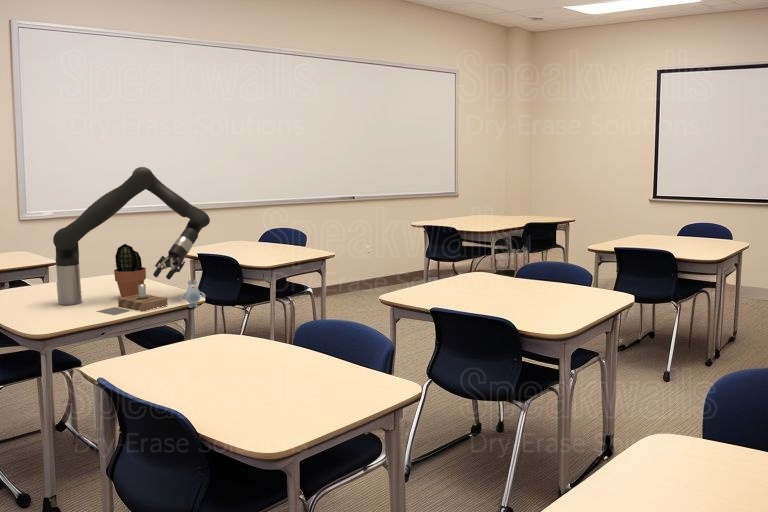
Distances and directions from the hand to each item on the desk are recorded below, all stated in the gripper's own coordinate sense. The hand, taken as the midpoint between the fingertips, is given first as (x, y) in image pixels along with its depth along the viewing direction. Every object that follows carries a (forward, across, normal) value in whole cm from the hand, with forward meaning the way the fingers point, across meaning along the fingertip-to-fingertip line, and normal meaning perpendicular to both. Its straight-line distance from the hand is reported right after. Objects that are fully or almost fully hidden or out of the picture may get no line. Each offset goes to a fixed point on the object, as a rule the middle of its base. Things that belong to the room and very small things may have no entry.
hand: (161, 277), depth 302 cm
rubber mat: (+24, -2, -8) cm, 26 cm away
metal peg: (+16, +1, 0) cm, 16 cm away
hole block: (+16, +1, 0) cm, 16 cm away
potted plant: (+9, -20, +8) cm, 23 cm away
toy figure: (+7, +19, +9) cm, 22 cm away
